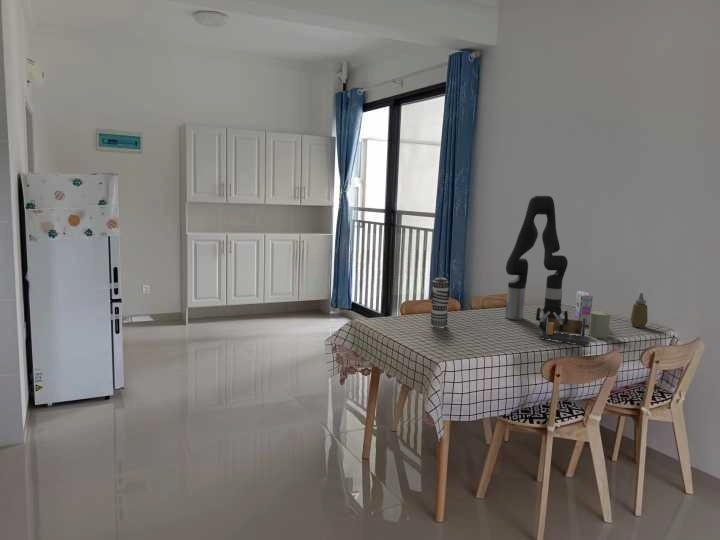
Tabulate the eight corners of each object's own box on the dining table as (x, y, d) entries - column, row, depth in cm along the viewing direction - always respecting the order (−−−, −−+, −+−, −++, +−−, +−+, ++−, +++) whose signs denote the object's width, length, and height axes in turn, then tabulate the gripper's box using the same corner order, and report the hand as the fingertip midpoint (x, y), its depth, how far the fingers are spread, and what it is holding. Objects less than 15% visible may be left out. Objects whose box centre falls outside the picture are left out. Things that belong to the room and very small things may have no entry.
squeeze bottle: (646, 326, 298) (649, 292, 295) (647, 329, 290) (650, 295, 288) (629, 324, 301) (632, 291, 298) (629, 327, 294) (633, 293, 291)
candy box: (590, 326, 294) (593, 295, 292) (578, 325, 295) (581, 295, 293) (585, 320, 308) (587, 291, 305) (574, 319, 309) (576, 290, 306)
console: (540, 339, 267) (540, 335, 267) (543, 335, 275) (543, 331, 275) (584, 345, 258) (585, 341, 258) (586, 341, 266) (587, 336, 266)
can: (607, 339, 270) (609, 315, 268) (586, 336, 274) (588, 312, 273) (610, 335, 277) (612, 311, 276) (590, 332, 282) (592, 309, 280)
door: (546, 330, 280) (547, 317, 279) (547, 329, 283) (548, 316, 282) (580, 335, 273) (581, 321, 272) (581, 334, 275) (582, 320, 274)
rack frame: (541, 331, 282) (543, 311, 281) (542, 330, 284) (543, 311, 283) (583, 336, 273) (585, 316, 272) (584, 335, 275) (585, 315, 274)
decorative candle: (451, 326, 288) (453, 278, 285) (441, 329, 282) (443, 280, 278) (436, 323, 295) (438, 276, 291) (426, 326, 288) (428, 278, 284)
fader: (547, 334, 267) (547, 324, 266) (548, 332, 271) (549, 321, 271) (552, 335, 266) (553, 324, 265) (554, 332, 270) (554, 322, 270)
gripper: (536, 296, 266) (534, 330, 268) (568, 300, 260) (565, 334, 262) (539, 294, 273) (537, 327, 275) (570, 297, 266) (567, 330, 268)
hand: (551, 330), depth 268 cm, fingers open, 8 cm apart
